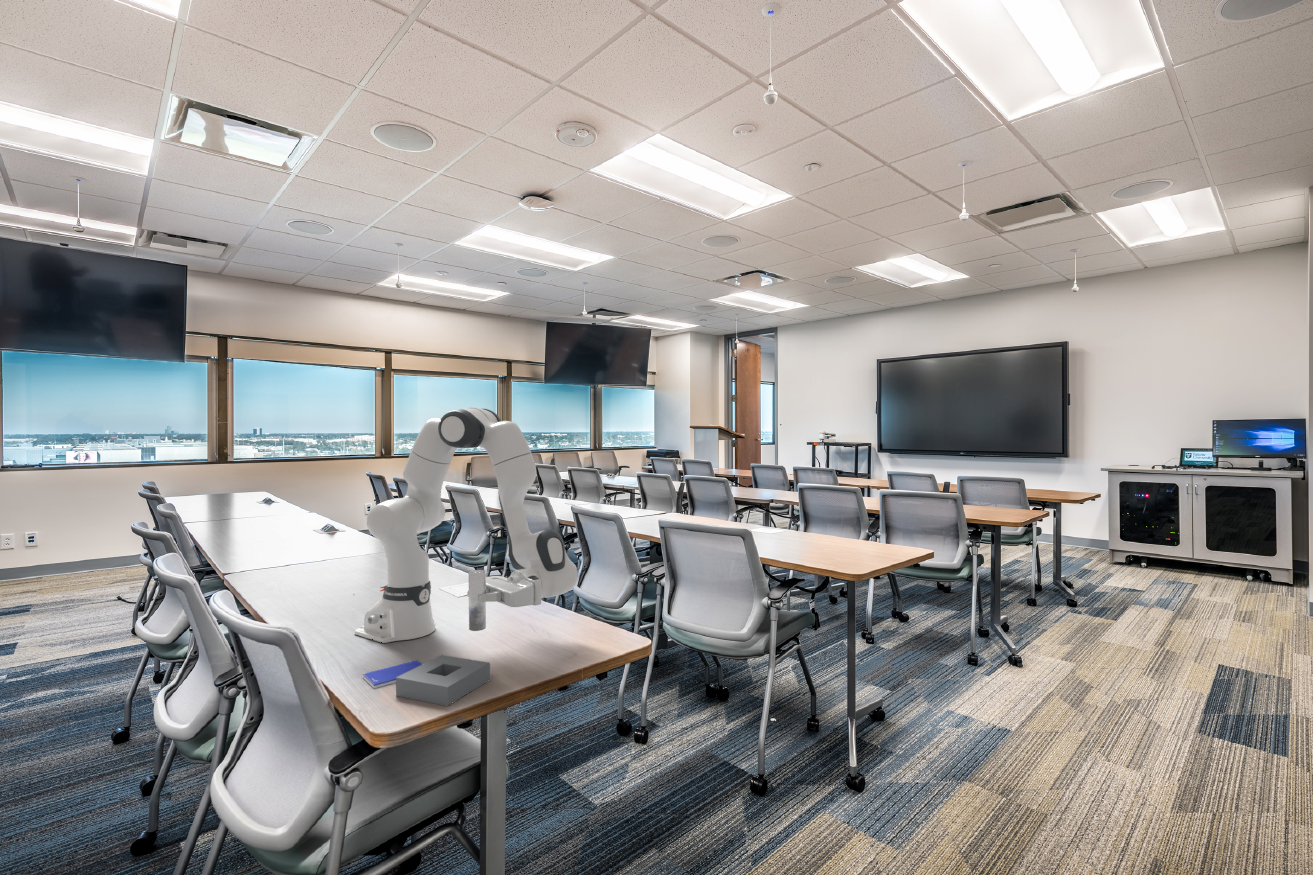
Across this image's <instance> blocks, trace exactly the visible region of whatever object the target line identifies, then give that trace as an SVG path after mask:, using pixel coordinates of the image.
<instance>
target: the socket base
mask: <svg viewBox="0 0 1313 875" xmlns="http://www.w3.org/2000/svg"><path fill="white" fill-rule="evenodd" d="M421 664H422V665H420V666H418V667H416V668H414V669H412V670H410V671H408V672H406V673H404V674H402V675H400V676H398V677H396V682H395V686H396V687H395V691H396V694H395V696H396V697H399V698H406V699H410V700H415V701H420V702H424V703H430V704H435V705H439V706H440V705H441V706H444V705H447V706H446V707H448V705H449V706H451V705H452V704H453V703H452V702H454V701H455V702H457V701H459V700H460V699H461V698H460V697H462V696H464V695H465V696H466V694H467V695H468V694H470V693H471V692H470V691H472V692H473V691H474V689H475V690H477V689H478V688H480V687H481V686H483V685H485V684H486V683H488V682H489V681H491V663H490V662H488V661H482V660H477V659H470V658H463V657H457V656H451V655H444V654H441V655H439V656H437V657H434V658H432V659H431V660H429V661H426V662H424V663H421ZM484 683H485V684H484ZM482 684H483V685H482ZM479 686H480V687H479ZM469 692H470V693H469ZM465 696H464V697H465ZM462 698H463V697H462ZM458 699H459V700H458ZM456 700H457V701H456ZM455 702H454V703H455ZM451 703H452V704H451ZM450 704H451V705H450Z"/></svg>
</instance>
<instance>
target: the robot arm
mask: <svg viewBox="0 0 1313 875" xmlns="http://www.w3.org/2000/svg"><path fill="white" fill-rule="evenodd" d="M478 447H479V448H482V449H483V450H485V451H486V453H487V455H488V456H489V459H490V462H491V466H492V468H493V471H494V475H495V478H496V482H497V489H498V500H499V505H500V509H501V513H502V518H503V521H504V522H503V523H504V526H505V530H506V534H507V538H508V559H509V561H510V563H511V565H512V566H513V567H514V568H515V570H514V571H512V572H511V573H510V576H508V577H504V576H502V575H492V576H485V579H486V594H485V593H483V594H479V595H478V601H479V602H481V603H483V602H486V603H487V602H489V603H490V602H491V603H492V602H493V603H495V602H497V603H500V604H502V605H505V606H506V607H507V606H508V607H509V608H510V607H511V608H521V607H526V606H531V605H532V606H540V605H541V604H542V601H543V600H542V599H543V598H553V597H557V596H561V595H563V594H565V593H568V592H570V591H572V589H574V587H575V586H576V584H577V582H578V578H579V572H578V567H577V566H576V564H575V563H574V562H573V561H572V560H571V559H570V557H569V555H568V554H567V551H566V547H565V541H564V539H563V537H562V535H561V534H560V533H558V532H557V531H556V530H553V529H545V530H540V531H537V532H534V533H532V531H531V530H530V528H529V524H528V519H527V515H526V510H525V506H524V503H525V502H524V501H525V497H526V495H527V493H528V491H529V490H530V488H531V487H532V486H533V484H534V483H535V481H536V479H537V478H536V477H537V473H538V472H537V466H536V462H535V459H534V457H533V453H532V451H531V448H530V446H529V443H528V441H527V439H526V437H525V436H524V434H523V432H522V430H521V428H520V427H519V425H518V424H517V423H516V422H513V421H510V420H501V418H500V416H499V415H498V414H497V413H496V412H494V411H492V410H490V409H488V408H478V407H468V408H454V409H453V410H450V411H448V412H446V413H445V414H444V415H443V416H442V417H433V418H430V419H428V420H427V421H426V422H425V423H424V425H423V426H422V428H421V430H420V431H419V433H418V435H417V437H416V439H415V440H414V443H413V445H412V448H411V450H410V453H409V456H408V459H407V460H406V464H405V466H404V469H403V472H402V477H403V479H404V481H405V482H406V483H407V488H406V494H405V495H404V497H399V498H393V499H388V500H384V501H383V502H380V503H377V504H376V505H374V506H373V507H372V508H370V509H369V511H368V513H367V516H366V526H367V529H368V531H369V533H370V534H371V535H372V536H373V537H374V538H376V539H377V540H378V542H379V543H380V545H381V546H382V549H383V551H384V554H385V558H386V571H387V572H386V577H387V580H386V581H387V583H386V585H384V586H381V587H380V590H379V591H380V592H382V593H383V594H382V597H381V598H380V599H379V600H378V601H377V602H376V603H374V604H373V605H372V606H370V607H369V608H368V609H367V610H366V611H365V614H364V619H363V625H361V626H359V627H357V628H356V629H355V630H354V635H356V636H360V637H362V638H366V639H369V640H372V639H373V640H372V641H375V642H378V643H381V642H382V644H387V643H391V642H398V641H406V640H407V641H408V640H413V639H414V640H415V639H418V638H422V637H426V636H427V635H430V634H432V633H434V632H435V630H436V626H435V619H434V617H433V611H432V610H433V609H432V603H431V598H430V597H431V594H432V593H431V592H432V590H431V589H432V584H431V580H430V568H429V567H430V559H429V557H430V556H429V554H428V553H427V551H426V550H424V549H422V548H421V546H420V544H419V540H418V534H421V533H425V532H428V531H429V532H430V530H432V529H435V528H436V527H438V526H439V525H441V524H442V522H443V520H445V516H446V508H445V504H444V503H443V501H442V489H443V488H442V487H443V485H444V481H445V478H446V475H447V473H448V470H449V467H450V464H451V463H452V460H453V457H454V454H455V452H456V451H457V450H458V449H476V448H478ZM467 597H468V598H469V589H468V591H467Z"/></svg>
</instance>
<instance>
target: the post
mask: <svg viewBox="0 0 1313 875" xmlns="http://www.w3.org/2000/svg"><path fill="white" fill-rule="evenodd" d="M485 577H486V570H484V569H476V570H475V569H474V570H471V571H468V590H469V597H468V630H469V631H471V632H479V631H484V630H485V629H487V610H486V609H487V602H483V603H481V602H479V601H478V595H479V594H483V593H485V594H486V579H485Z"/></svg>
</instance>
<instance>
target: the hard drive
mask: <svg viewBox="0 0 1313 875" xmlns="http://www.w3.org/2000/svg"><path fill="white" fill-rule="evenodd" d="M422 664H423V663H421V662H420V661H419V660H417V659H416V660H411V661H408V662H404V663H401V664H397V665H393V666H389V667H386V668H385V667H384V668H381V669H377V670H373V671H370V672H369V671H368V672H366V673H363V674H362V679H363V680H365V682H366V683H367V684H368V685H370V686H371V687H372V689H377V688H381V687H385V686H387V685H392V684H396V677H398V676H400V675H402V674H404V673H406V672H408V671H410V670H412V669H414V668H416V667H418V666H420V665H422Z"/></svg>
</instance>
